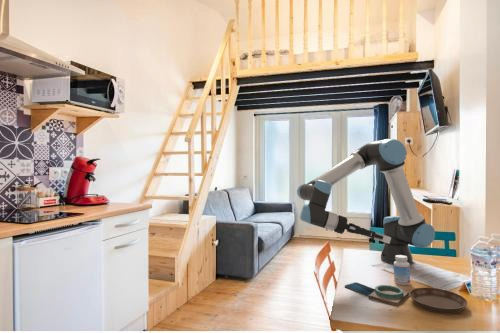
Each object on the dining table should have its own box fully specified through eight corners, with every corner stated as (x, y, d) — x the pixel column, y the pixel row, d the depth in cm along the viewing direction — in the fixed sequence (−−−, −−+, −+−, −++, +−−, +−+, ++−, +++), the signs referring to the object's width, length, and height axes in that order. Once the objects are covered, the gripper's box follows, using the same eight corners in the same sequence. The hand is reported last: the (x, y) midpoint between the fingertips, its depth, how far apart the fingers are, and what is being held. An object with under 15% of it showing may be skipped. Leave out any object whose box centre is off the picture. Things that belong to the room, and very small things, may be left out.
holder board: (381, 288, 129) (381, 281, 129) (409, 294, 122) (409, 287, 122) (368, 298, 120) (368, 291, 120) (397, 306, 112) (397, 298, 112)
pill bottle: (412, 285, 131) (411, 258, 131) (396, 285, 132) (395, 258, 132) (407, 280, 137) (407, 254, 137) (392, 280, 138) (391, 254, 138)
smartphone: (356, 284, 136) (356, 281, 136) (387, 295, 123) (387, 293, 123) (343, 287, 132) (343, 285, 132) (373, 300, 119) (373, 297, 119)
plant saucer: (469, 321, 101) (468, 311, 101) (407, 309, 110) (406, 300, 110) (466, 301, 116) (466, 292, 116) (412, 292, 125) (411, 284, 125)
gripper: (328, 229, 150) (372, 244, 148) (339, 233, 126) (392, 251, 124) (332, 214, 151) (376, 228, 149) (344, 215, 127) (398, 232, 124)
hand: (384, 238), depth 136 cm, fingers open, 13 cm apart
